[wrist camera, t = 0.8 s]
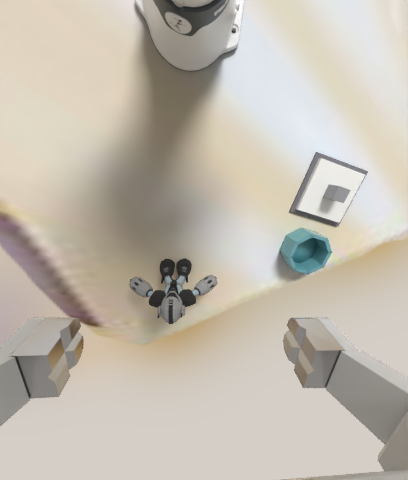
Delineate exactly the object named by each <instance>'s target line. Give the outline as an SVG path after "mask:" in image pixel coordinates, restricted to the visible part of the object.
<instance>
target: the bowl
mask: <svg viewBox="0 0 408 480" xmlns="http://www.w3.org/2000/svg"><path fill="white" fill-rule="evenodd" d="M280 251H281V253H282V256H283V258H284V261H285V262H286V263H287V264H288V265H289V266H290V267H291V268H292V269H293V270H294V271H297V272H301V273H305V274H310V273H312V272H314V271H316V270H318V269H320V268H323V267H324V266H325V264H326V262H327V260H328V258H329V257H330V255H331V253H332V251H331V248H330V245H329V241H328V238H326V237H324V236H322V235H320V234H319V233H317V232H314V231H311V230H308V229H304V228H299V229H297V230H295V231H294V232H292V233H290V234H288V235H286V237H285V239H284V241H283V243H282V246H281V248H280Z"/></svg>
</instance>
